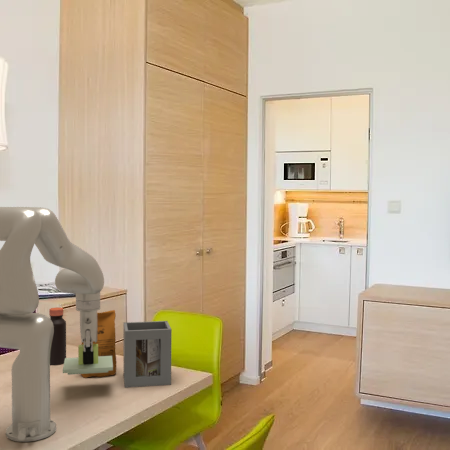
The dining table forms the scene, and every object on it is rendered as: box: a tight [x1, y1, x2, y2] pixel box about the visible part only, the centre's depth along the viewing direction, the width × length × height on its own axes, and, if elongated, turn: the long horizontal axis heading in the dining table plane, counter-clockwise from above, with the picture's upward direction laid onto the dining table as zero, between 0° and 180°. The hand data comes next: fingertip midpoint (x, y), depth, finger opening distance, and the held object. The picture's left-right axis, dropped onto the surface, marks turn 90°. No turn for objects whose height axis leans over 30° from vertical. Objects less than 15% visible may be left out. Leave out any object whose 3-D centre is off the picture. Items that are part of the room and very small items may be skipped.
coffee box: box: [136, 329, 160, 377], centre depth 189 cm, size 9×6×16 cm
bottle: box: [49, 307, 67, 366], centre depth 206 cm, size 7×7×20 cm
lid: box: [62, 343, 113, 376], centre depth 178 cm, size 12×15×8 cm
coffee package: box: [80, 309, 117, 379], centre depth 195 cm, size 10×12×22 cm
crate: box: [122, 320, 172, 388], centre depth 189 cm, size 12×15×18 cm
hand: (88, 361), depth 178 cm, fingers closed on lid, 3 cm apart
